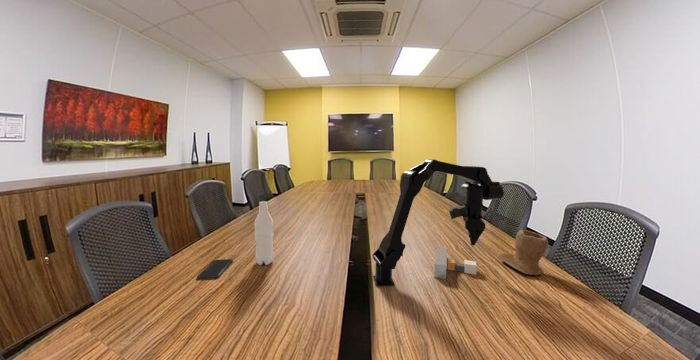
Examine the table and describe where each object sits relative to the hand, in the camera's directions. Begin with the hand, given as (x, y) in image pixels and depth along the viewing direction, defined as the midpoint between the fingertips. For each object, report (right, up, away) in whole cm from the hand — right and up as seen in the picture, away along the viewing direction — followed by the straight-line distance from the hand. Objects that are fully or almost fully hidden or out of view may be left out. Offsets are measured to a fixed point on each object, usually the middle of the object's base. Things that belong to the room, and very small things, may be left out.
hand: (471, 241), depth 97 cm
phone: (-97, -12, +1) cm, 98 cm away
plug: (-3, -12, +2) cm, 12 cm away
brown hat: (+22, -12, +4) cm, 26 cm away
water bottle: (-80, -11, +8) cm, 81 cm away
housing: (-10, -11, +5) cm, 16 cm away
